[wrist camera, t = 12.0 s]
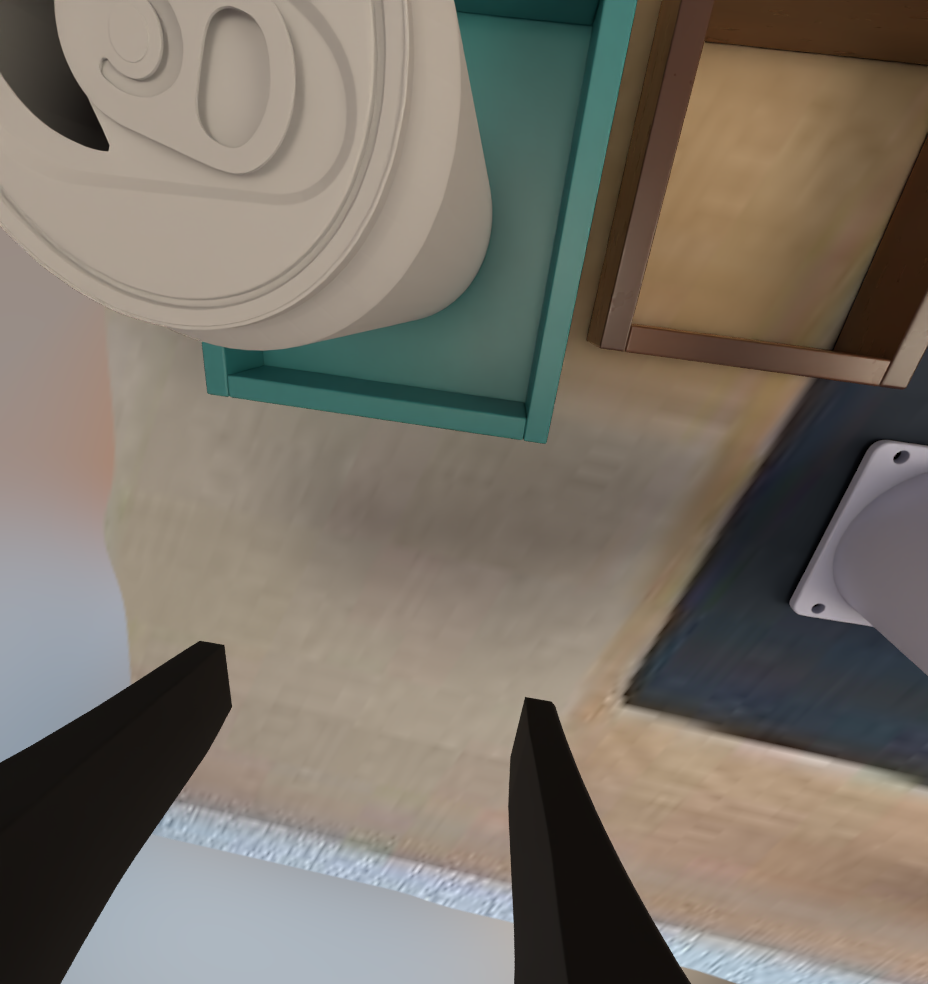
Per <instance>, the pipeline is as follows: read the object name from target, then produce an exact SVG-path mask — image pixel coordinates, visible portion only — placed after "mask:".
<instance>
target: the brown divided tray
mask: <svg viewBox="0 0 928 984" xmlns="http://www.w3.org/2000/svg"><path fill="white" fill-rule="evenodd" d="M704 41H709V42H718V43H728V44H737V45H747V46H756V47H766V48H775V49H784V50H794V51H803V52H813V53H822V54H832V55H841V56H851V57H860V58H870V59H879V60H888V61H898V62H907V63H917V64H926V65H928V0H662V3H661V8H660V12H659V17H658V21H657V26H656V30H655V35H654V39H653V44H652V48H651V53H650V57H649V62H648V66H647V71H646V75H645V80H644V84H643V89H642V93H641V98H640V102H639V107H638V111H637V116H636V120H635V125H634V129H633V134H632V138H631V143H630V147H629V152H628V156H627V161H626V165H625V170H624V174H623V179H622V183H621V188H620V192H619V197H618V201H617V206H616V210H615V215H614V219H613V224H612V228H611V233H610V237H609V242H608V246H607V251H606V255H605V260H604V264H603V269H602V273H601V278H600V282H599V287H598V291H597V296H596V300H595V305H594V309H593V314H592V318H591V323H590V327H589V332H588V336H587V341H589V342H590V343H592V344H594V345H596V346H598V347H599V348H602V349H609V350H617V351H626V352H631V353H639V354H646V355H653V356H661V357H668V358H675V359H682V360H690V361H697V362H704V363H712V364H719V365H726V366H733V367H741V368H748V369H755V370H763V371H770V372H777V373H784V374H792V375H799V376H806V377H814V378H821V379H828V380H835V381H843V382H850V383H857V384H865V385H872V386H880V387H887V388H894V389H905V388H906V387H907V385H908V383H909V381H910V379H911V377H912V376H913V374H914V372H915V370H916V368H917V366H918V364H919V362H920V360H921V358H922V356H923V354H924V352H925V350H926V349H927V347H928V136H927V138H926V140H925V143H924V145H923V147H922V150H921V152H920V154H919V156H918V159H917V161H916V163H915V166H914V168H913V170H912V172H911V175H910V177H909V179H908V181H907V184H906V186H905V188H904V191H903V193H902V195H901V197H900V200H899V202H898V204H897V206H896V209H895V211H894V213H893V216H892V218H891V220H890V222H889V225H888V227H887V229H886V232H885V234H884V236H883V238H882V241H881V243H880V245H879V247H878V250H877V252H876V254H875V257H874V259H873V261H872V263H871V266H870V268H869V270H868V272H867V275H866V277H865V279H864V282H863V284H862V286H861V288H860V291H859V293H858V295H857V298H856V300H855V302H854V304H853V307H852V309H851V311H850V313H849V316H848V318H847V320H846V323H845V325H844V327H843V329H842V332H841V334H840V336H839V338H838V341H837V343H836V345H835V348H834V350H833V351H832V350H825V349H818V348H810V347H803V346H795V345H788V344H780V343H773V342H765V341H758V340H751V339H743V338H736V337H728V336H721V335H713V334H706V333H698V332H691V331H684V330H676V329H669V328H661V327H654V326H646V325H639V324H632V320H633V316H634V313H635V309H636V305H637V301H638V297H639V293H640V289H641V285H642V281H643V278H644V274H645V270H646V266H647V262H648V258H649V254H650V250H651V246H652V243H653V239H654V235H655V231H656V227H657V223H658V219H659V215H660V212H661V208H662V204H663V200H664V196H665V192H666V188H667V184H668V180H669V177H670V173H671V169H672V165H673V161H674V157H675V153H676V149H677V145H678V142H679V138H680V134H681V130H682V126H683V122H684V118H685V114H686V111H687V107H688V103H689V99H690V95H691V91H692V87H693V83H694V79H695V76H696V72H697V68H698V64H699V60H700V56H701V52H702V48H703V44H704Z"/></svg>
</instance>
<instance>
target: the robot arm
mask: <svg viewBox="0 0 928 984" xmlns="http://www.w3.org/2000/svg"><path fill="white" fill-rule="evenodd" d="M900 451H901V455H900V456H899V457H898V458H897V459H895V460H893V458H894V456H895V455H896V453H898V452H900ZM789 604H790V607H791V608H792V609H793V610H794V611H795V612H796V613H797V614H799V615H804V616H810V617H816V618H822V619H829V620H835V621H841V622H847V623H853V624H860V625H866V626H872V627H875V628H876V629H877V630H878V631H879V632H880V633H881V634H882V635H883V636H885V637H886V638H887V639H888V640H889V641H890V642H891V643H892V644H893V645H894V646H896V647H897V648H898V649H899V650H900V651H901V652H902V653H903V654H904V655H905V656H907V657H908V658H909V659H910V660H911V661H912V662H913V663H914V664H915V665H917V666H918V667H919V668H920V669H921V670H922V671H923V672H924V673H925V674H926V675H928V446H927V445H920V444H913V443H906V442H899V441H892V440H880V441H877V442H875V443H874V444H872V445H871V446H870V447H869V448H868V450H867V451H866V453H865V455H864V457H863V459H862V461H861V463H860V465H859V467H858V469H857V471H856V473H855V475H854V477H853V479H852V481H851V483H850V485H849V486H848V488H847V490H846V492H845V494H844V496H843V498H842V500H841V502H840V504H839V506H838V508H837V510H836V512H835V514H834V516H833V518H832V520H831V522H830V523H829V525H828V527H827V529H826V531H825V533H824V535H823V537H822V539H821V541H820V543H819V545H818V547H817V549H816V551H815V553H814V555H813V557H812V558H811V560H810V562H809V564H808V566H807V568H806V570H805V572H804V574H803V576H802V578H801V580H800V582H799V584H798V586H797V588H796V590H795V592H794V594H793V595H792V597H791V599H790V603H789ZM816 604H818V605H817V606H816V607H814V608H812V607H813V606H814V605H816ZM231 708H232V703H231V695H230V687H229V679H228V671H227V663H226V655H225V647H224V645H221V644H215V643H209V642H204V641H199V642H197V643H196V644H194V645H192V646H191V647H189V648H188V649H186V650H184V651H183V652H181V653H180V654H178V655H177V656H175V657H174V658H172V659H170V660H169V661H167V662H166V663H164V664H163V665H161V666H160V667H158V668H157V669H155V670H154V671H152V672H151V673H149V674H147V675H146V676H144V677H143V678H141V679H140V680H138V681H137V682H135V683H133V684H132V685H130V686H129V687H127V688H126V689H124V690H122V691H121V692H119V693H118V694H116V695H115V696H113V697H111V698H110V699H108V700H107V701H105V702H103V703H102V704H100V705H99V706H97V707H96V708H94V709H92V710H91V711H89V712H87V713H86V714H84V715H82V716H80V717H79V718H77V719H75V720H74V721H72V722H71V723H69V724H67V725H65V726H64V727H62V728H60V729H59V730H57V731H55V732H53V733H52V734H50V735H48V736H47V737H45V738H43V739H42V740H40V741H38V742H37V743H35V744H33V745H31V746H30V747H28V748H26V749H24V750H22V751H21V752H19V753H17V754H15V755H13V756H12V757H10V758H8V759H6V760H4V761H2V762H1V763H0V984H61V982H62V980H63V978H64V976H65V975H66V973H67V971H68V969H69V967H70V966H71V964H72V962H73V960H74V959H75V957H76V955H77V953H78V952H79V950H80V948H81V946H82V944H83V943H84V941H85V939H86V938H87V936H88V934H89V932H90V931H91V929H92V927H93V926H94V923H95V922H96V921H97V919H98V917H99V915H100V914H101V912H102V910H103V909H104V907H105V905H106V903H107V902H108V900H109V898H110V897H111V895H112V893H113V891H114V890H115V888H116V886H117V885H118V883H119V882H120V880H121V878H122V877H123V875H124V874H125V872H126V871H127V869H128V868H129V866H130V865H131V863H132V861H133V860H134V858H135V857H136V855H137V854H138V853H139V851H140V850H141V848H142V847H143V845H144V844H145V842H146V841H147V840H148V838H149V836H150V835H151V834H152V832H153V831H154V829H155V828H156V827H157V825H158V824H159V822H160V821H161V819H162V818H163V816H164V815H165V814H166V812H167V811H168V809H169V808H170V806H171V805H172V803H173V802H174V801H175V799H176V798H177V796H178V795H179V793H180V792H181V790H182V789H183V787H184V786H185V785H186V783H187V782H188V780H189V779H190V777H191V776H192V774H193V773H194V771H195V770H196V768H197V767H198V765H199V764H200V763H201V761H202V760H203V758H204V757H205V755H206V754H207V752H208V750H209V749H210V747H211V745H212V743H213V741H214V740H215V738H216V736H217V734H218V732H219V731H220V729H221V727H222V725H223V723H224V721H225V719H226V717H227V715H228V713H229V712H230V710H231ZM508 809H509V833H510V855H511V876H512V896H513V917H514V947H515V948H514V949H515V976H514V984H691V983H690V981H689V980H688V978H687V977H686V975H685V974H684V972H683V970H682V969H681V967H680V966H679V964H678V962H677V961H676V959H675V957H674V956H673V954H672V952H671V951H670V949H669V947H668V945H667V944H666V942H665V940H664V939H663V937H662V935H661V934H660V932H659V930H658V929H657V927H656V925H655V923H654V922H653V920H652V918H651V916H650V915H649V913H648V911H647V909H646V907H645V906H644V904H643V902H642V900H641V899H640V897H639V895H638V893H637V891H636V890H635V888H634V886H633V884H632V882H631V880H630V878H629V876H628V875H627V873H626V871H625V869H624V867H623V865H622V863H621V861H620V859H619V857H618V855H617V853H616V851H615V849H614V847H613V845H612V843H611V841H610V839H609V837H608V835H607V833H606V831H605V829H604V827H603V825H602V822H601V820H600V818H599V816H598V814H597V812H596V810H595V807H594V805H593V803H592V800H591V798H590V796H589V794H588V791H587V789H586V787H585V785H584V782H583V780H582V778H581V775H580V773H579V771H578V768H577V766H576V763H575V761H574V758H573V756H572V753H571V750H570V748H569V745H568V743H567V740H566V737H565V734H564V732H563V729H562V726H561V723H560V720H559V717H558V714H557V711H556V707H555V705H554V704H553V703H552V702H550V701H545V700H539V699H533V698H527V697H525V700H524V704H523V708H522V712H521V716H520V720H519V724H518V729H517V733H516V737H515V741H514V745H513V749H512V753H511V759H510V780H509V804H508Z"/></svg>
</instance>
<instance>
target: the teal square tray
mask: <svg viewBox="0 0 928 984" xmlns="http://www.w3.org/2000/svg"><path fill="white" fill-rule="evenodd" d="M454 3H455V8H456V13H457V18H458V23H459V29H460V34H461V39H462V44H463V49H464V55H465V60H466V65H467V70H468V75H469V81H470V86H471V91H472V96H473V102H474V107H475V112H476V117H477V122H478V128H479V133H480V138H481V143H482V148H483V154H484V159H485V164H486V169H487V175H488V180H489V185H490V190H491V198H492V228H491V235H490V241H489V245H488V248H487V251H486V255H485V258H484V260H483V263H482V265H481V267H480V269H479V271H478V273H477V275H476V276H475V278H474V279H473V281H472V282H471V284H470V285H469V287H468V288H467V289H466V290H465V291H464V292H463V293H462V295H461V296H460V297H458V298H457V299H456V300H455V301H454V302H453V303H451V304H450V305H449V306H448V307H446V308H444V309H443V310H441V311H439V312H437V313H435V314H433V315H431V316H428V317H425V318H422V319H418V320H414V321H409V322H405V323H400V324H396V325H392V326H387V327H383V328H378V329H374V330H369V331H365V332H360V333H356V334H351V335H347V336H342V337H338V338H334V339H329V340H325V341H320V342H316V343H311V344H307V345H302V346H298V347H292V348H286V349H278V350H266V351H262V350H241V349H232V348H227V347H222V346H217V345H212V344H209V343H206V342H202V349H203V358H204V367H205V376H206V385H207V393H208V394H211V395H218V396H225V397H229V396H230V397H232V398H239V399H246V400H253V401H260V402H266V403H273V404H280V405H287V406H294V407H300V408H307V409H314V410H321V411H327V412H334V413H341V414H348V415H355V416H361V417H368V418H375V419H382V420H389V421H395V422H402V423H409V424H416V425H422V426H429V427H436V428H443V429H450V430H456V431H463V432H470V433H477V434H483V435H490V436H497V437H504V438H511V439H517V440H522V439H524V441H529V442H536V443H543V444H546V442H547V438H548V433H549V428H550V423H551V418H552V413H553V409H554V404H555V399H556V394H557V389H558V384H559V379H560V375H561V370H562V365H563V360H564V355H565V350H566V345H567V341H568V336H569V331H570V326H571V321H572V316H573V311H574V306H575V302H576V297H577V292H578V287H579V282H580V277H581V272H582V268H583V263H584V258H585V253H586V248H587V243H588V238H589V234H590V229H591V224H592V219H593V214H594V209H595V204H596V200H597V195H598V190H599V185H600V180H601V175H602V170H603V165H604V161H605V156H606V151H607V146H608V141H609V136H610V131H611V127H612V122H613V117H614V112H615V107H616V102H617V97H618V93H619V88H620V83H621V78H622V73H623V68H624V63H625V59H626V54H627V49H628V44H629V39H630V34H631V29H632V24H633V20H634V15H635V10H636V5H637V0H454Z"/></svg>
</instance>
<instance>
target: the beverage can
mask: <svg viewBox="0 0 928 984" xmlns="http://www.w3.org/2000/svg"><path fill="white" fill-rule="evenodd" d="M0 227H1V228H2V229H3V230H4V231H5V232H6V233H7V234H8V235H9V236H10V237H11V238H12V239H13V240H14V241H15V242H16V243H17V244H18V245H19V246H20V247H21V248H22V249H23V250H24V251H26V252H27V253H28V254H29V255H30V256H31V257H32V258H33V259H34V260H36V261H37V262H38V263H39V264H40V265H41V266H43V267H44V268H45V269H46V270H48V271H49V272H50V273H52V274H53V275H55V276H56V277H57V278H59V279H60V280H62V281H63V282H64V283H66V284H67V285H69V286H70V287H72V288H73V289H74V290H76V291H77V292H79V293H81V294H83V295H84V296H86V297H88V298H90V299H92V300H94V301H96V302H98V303H99V304H101V305H103V306H105V307H107V308H109V309H111V310H113V311H116V312H118V313H121V314H123V315H126V316H129V317H132V318H135V319H138V320H141V321H145V322H148V323H151V324H156V325H160V326H165V327H167V328H169V329H170V330H172V331H174V332H177V333H179V334H182V335H184V336H187V337H190V338H193V339H196V340H199V341H202V342H206V343H209V344H212V345H217V346H222V347H227V348H232V349H241V350H262V351H266V350H278V349H286V348H292V347H298V346H302V345H307V344H311V343H316V342H320V341H325V340H329V339H334V338H338V337H342V336H347V335H351V334H356V333H360V332H365V331H369V330H374V329H378V328H383V327H387V326H392V325H396V324H400V323H405V322H409V321H414V320H418V319H422V318H425V317H428V316H431V315H433V314H435V313H437V312H439V311H441V310H443V309H444V308H446V307H448V306H449V305H450V304H451V303H453V302H454V301H455V300H456V299H457V298H458V297H460V296H461V295H462V293H463V292H464V291H465V290H466V289H467V288H468V287H469V285H470V284H471V282H472V281H473V279H474V278H475V276H476V275H477V273H478V271H479V269H480V267H481V265H482V263H483V260H484V258H485V255H486V251H487V248H488V245H489V241H490V235H491V228H492V198H491V190H490V185H489V180H488V175H487V169H486V164H485V159H484V154H483V148H482V143H481V138H480V133H479V128H478V122H477V117H476V112H475V107H474V102H473V96H472V91H471V86H470V81H469V75H468V70H467V65H466V60H465V55H464V49H463V44H462V39H461V34H460V29H459V23H458V18H457V13H456V8H455V3H454V0H0Z"/></svg>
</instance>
